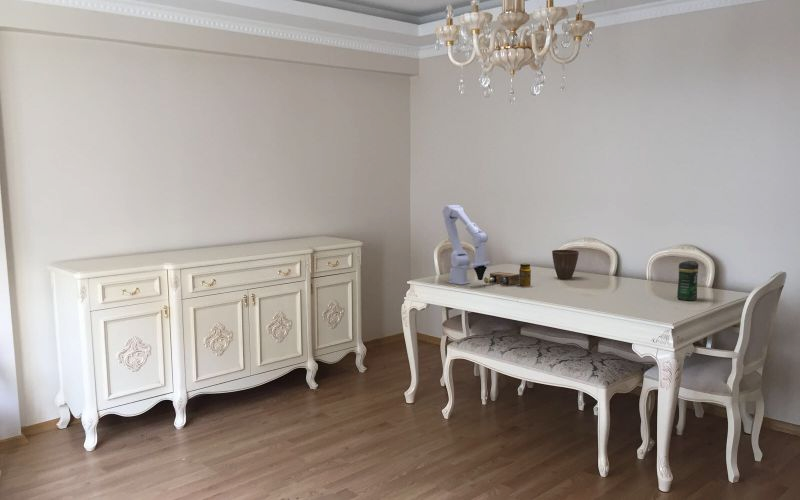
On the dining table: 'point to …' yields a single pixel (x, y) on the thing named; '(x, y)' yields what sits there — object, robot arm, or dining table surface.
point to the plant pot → (565, 263)
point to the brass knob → (489, 279)
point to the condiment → (524, 276)
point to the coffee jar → (687, 280)
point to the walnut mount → (512, 278)
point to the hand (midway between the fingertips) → (480, 279)
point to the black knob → (504, 280)
